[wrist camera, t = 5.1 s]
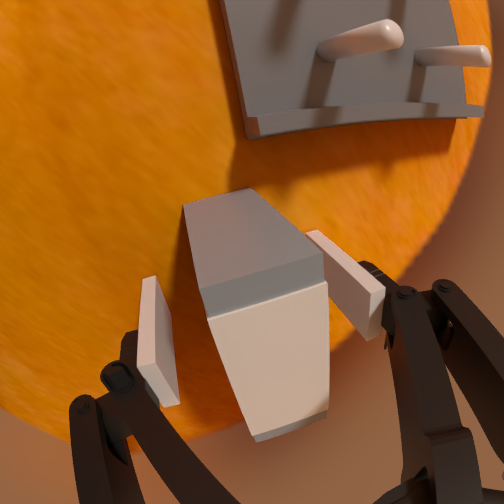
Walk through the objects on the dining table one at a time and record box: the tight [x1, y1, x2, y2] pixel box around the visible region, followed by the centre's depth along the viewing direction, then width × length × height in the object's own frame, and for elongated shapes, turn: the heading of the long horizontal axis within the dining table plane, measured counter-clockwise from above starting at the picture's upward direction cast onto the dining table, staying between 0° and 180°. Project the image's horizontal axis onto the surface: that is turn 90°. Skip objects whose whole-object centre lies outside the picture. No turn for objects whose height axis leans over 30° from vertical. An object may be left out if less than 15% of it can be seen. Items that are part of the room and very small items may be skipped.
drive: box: [183, 187, 329, 443], centre depth 14 cm, size 4×9×8 cm, turn 12°
